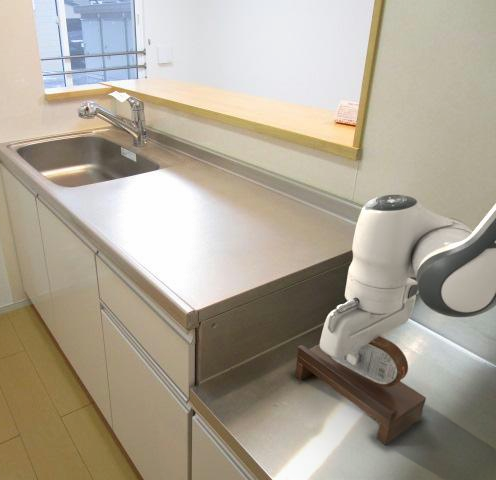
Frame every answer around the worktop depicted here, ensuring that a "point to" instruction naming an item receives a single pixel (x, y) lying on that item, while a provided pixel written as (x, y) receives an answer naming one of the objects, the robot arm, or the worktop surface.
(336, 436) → the worktop surface
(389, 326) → the robot arm
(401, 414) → the shelf
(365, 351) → the tin
